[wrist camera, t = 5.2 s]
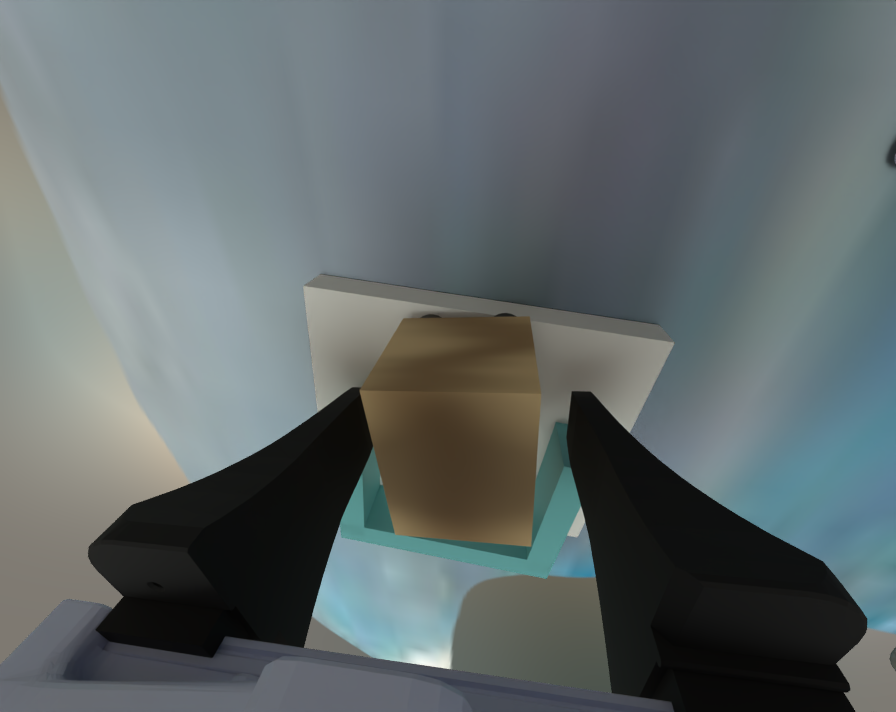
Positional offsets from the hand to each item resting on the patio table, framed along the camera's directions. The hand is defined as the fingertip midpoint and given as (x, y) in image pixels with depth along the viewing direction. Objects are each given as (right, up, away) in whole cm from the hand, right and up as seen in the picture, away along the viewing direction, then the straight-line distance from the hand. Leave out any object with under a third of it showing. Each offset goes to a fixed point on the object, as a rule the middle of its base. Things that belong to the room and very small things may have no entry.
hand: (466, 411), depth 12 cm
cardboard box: (0, +1, +2) cm, 2 cm away
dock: (0, -1, +5) cm, 5 cm away
